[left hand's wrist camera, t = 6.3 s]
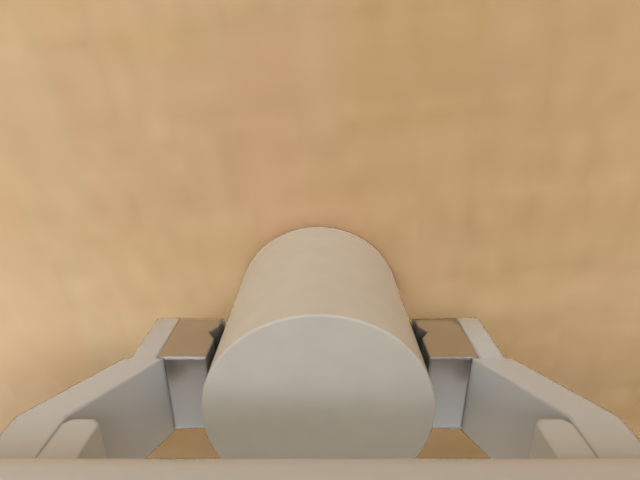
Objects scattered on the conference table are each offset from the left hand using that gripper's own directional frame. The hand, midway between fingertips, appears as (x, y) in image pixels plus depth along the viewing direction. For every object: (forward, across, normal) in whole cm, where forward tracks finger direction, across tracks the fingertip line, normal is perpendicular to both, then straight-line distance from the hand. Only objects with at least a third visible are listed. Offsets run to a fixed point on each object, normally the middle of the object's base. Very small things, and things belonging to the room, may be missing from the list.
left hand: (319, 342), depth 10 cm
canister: (+2, 0, 0) cm, 2 cm away
